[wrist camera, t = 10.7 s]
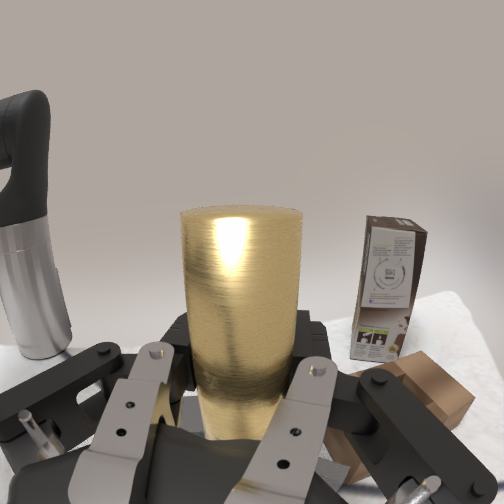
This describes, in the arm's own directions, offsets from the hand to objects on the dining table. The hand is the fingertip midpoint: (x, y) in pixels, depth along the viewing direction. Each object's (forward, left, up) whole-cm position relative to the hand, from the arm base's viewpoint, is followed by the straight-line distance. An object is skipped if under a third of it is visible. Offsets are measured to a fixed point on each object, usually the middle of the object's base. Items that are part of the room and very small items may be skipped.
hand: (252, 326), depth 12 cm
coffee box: (-14, +20, -14) cm, 28 cm away
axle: (+3, -1, -10) cm, 11 cm away
